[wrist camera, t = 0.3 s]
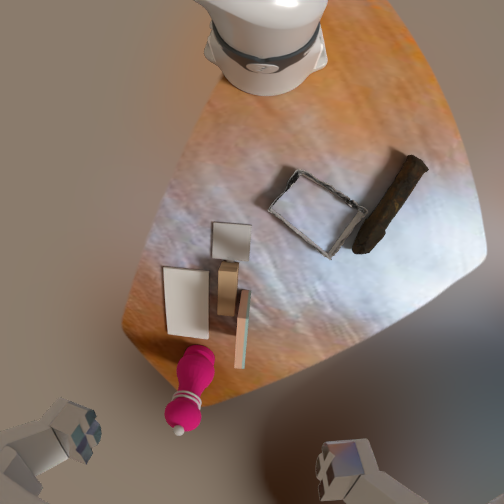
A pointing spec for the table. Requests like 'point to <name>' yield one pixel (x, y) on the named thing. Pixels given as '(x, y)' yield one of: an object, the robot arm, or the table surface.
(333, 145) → the table surface
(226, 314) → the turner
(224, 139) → the table surface
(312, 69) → the robot arm
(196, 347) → the pepper mill
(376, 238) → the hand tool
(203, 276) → the pad
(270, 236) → the table surface
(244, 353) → the tile
